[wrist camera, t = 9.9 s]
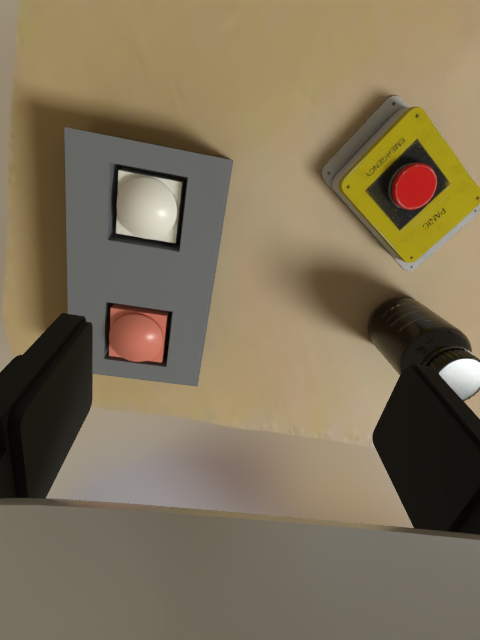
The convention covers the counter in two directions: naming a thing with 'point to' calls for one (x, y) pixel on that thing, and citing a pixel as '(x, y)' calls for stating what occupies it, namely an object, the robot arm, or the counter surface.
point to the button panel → (142, 250)
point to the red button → (138, 333)
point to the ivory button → (149, 205)
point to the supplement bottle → (425, 344)
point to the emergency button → (403, 182)
